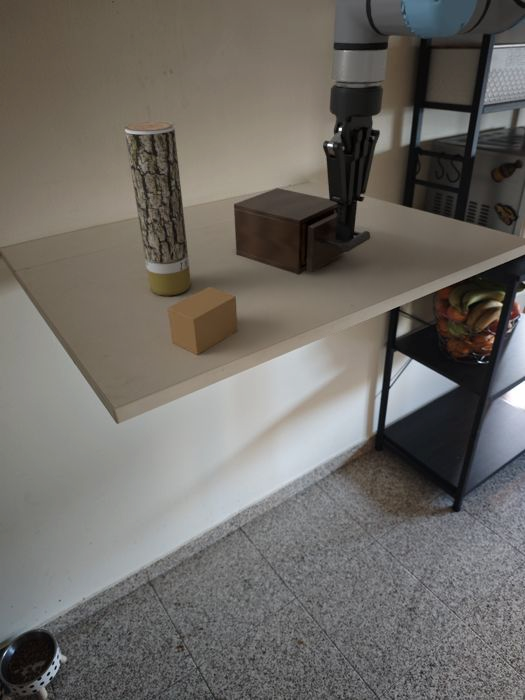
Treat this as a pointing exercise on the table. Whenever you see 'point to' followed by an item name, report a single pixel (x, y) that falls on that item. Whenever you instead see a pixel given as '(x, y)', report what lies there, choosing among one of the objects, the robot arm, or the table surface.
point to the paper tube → (159, 205)
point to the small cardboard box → (203, 319)
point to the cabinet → (276, 226)
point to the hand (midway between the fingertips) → (344, 239)
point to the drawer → (325, 241)
